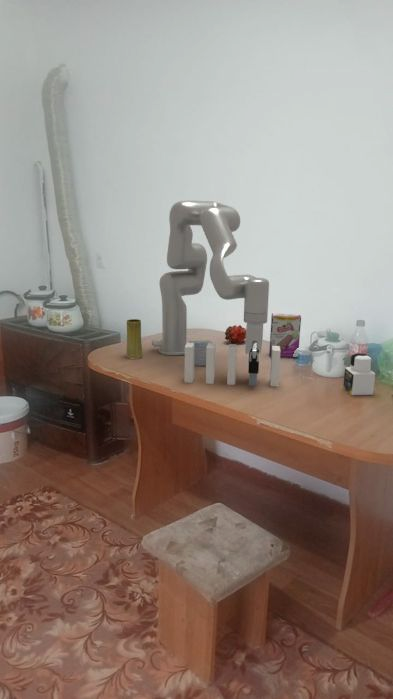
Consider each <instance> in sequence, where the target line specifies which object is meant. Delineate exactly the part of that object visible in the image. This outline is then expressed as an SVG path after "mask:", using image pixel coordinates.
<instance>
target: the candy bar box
mask: <svg viewBox="0 0 393 699" xmlns="http://www.w3.org/2000/svg"><path fill="white" fill-rule="evenodd" d="M270 320H271V322H270V333H269V334H270V335H269V336H270V337H269V352H268V354H269V358H271V353H272V346H280V351H281V352H280V358H290V357H293V354H294V351H295V350H296V349H297V348H299V349H300V338H301V337H300V335H301V325H302V315H301V314H298V313H297V314H296V313H295V314H293V313H292V314H291V313H273V312H272V313H271V318H270Z"/></svg>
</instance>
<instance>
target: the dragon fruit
mask: <svg viewBox="0 0 393 699" xmlns="http://www.w3.org/2000/svg"><path fill="white" fill-rule="evenodd" d="M224 336H225V337H224V339H225V340H227V342H229V344H235V343H236V344H243V343H244V342H245V341H246V327H243V326H242V325H238V326H237V325H236V324H235V325H232V326H228V327H226V330H225V332H224Z"/></svg>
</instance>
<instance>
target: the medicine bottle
mask: <svg viewBox="0 0 393 699" xmlns="http://www.w3.org/2000/svg"><path fill="white" fill-rule="evenodd" d="M371 368H372V356H370V355H368V354H366V353H358V352H357V353H354V354H351V357H350V364H349V366H346V367H345V368H344V374H343V375H344V376H343V389H344V390H345V391H346V392H347V393H348V394H349V395H350V396H373V395H374V391H375V390H374V388H375V383H376V382H375V381H376V380H375V379H376V372H374V371H373V370H371Z"/></svg>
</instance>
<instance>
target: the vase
mask: <svg viewBox="0 0 393 699" xmlns="http://www.w3.org/2000/svg"><path fill="white" fill-rule="evenodd" d="M142 346H143V344H142V321H141V319H137V318H131V319H127V320H126V355H125V356H127V357H128V358H127V357H126V358H127V359H129V358H139V359H142V358H143V347H142ZM141 357H142V358H141Z"/></svg>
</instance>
